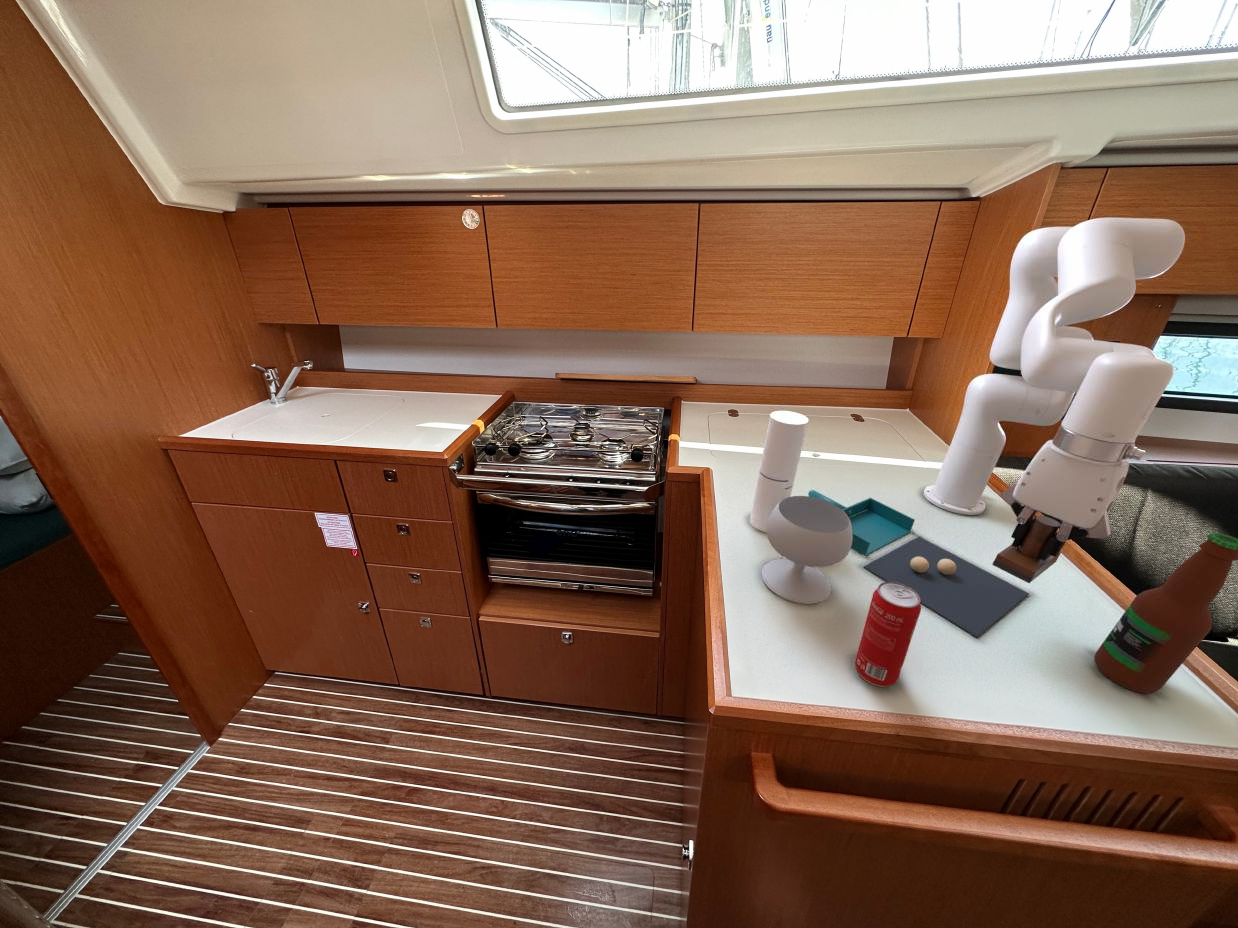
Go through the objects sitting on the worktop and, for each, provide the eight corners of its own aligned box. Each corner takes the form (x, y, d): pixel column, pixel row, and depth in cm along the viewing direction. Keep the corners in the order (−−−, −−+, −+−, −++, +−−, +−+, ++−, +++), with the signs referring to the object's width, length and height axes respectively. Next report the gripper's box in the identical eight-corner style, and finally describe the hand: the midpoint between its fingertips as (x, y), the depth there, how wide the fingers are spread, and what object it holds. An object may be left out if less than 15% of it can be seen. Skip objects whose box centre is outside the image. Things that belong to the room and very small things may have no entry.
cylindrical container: (745, 514, 106) (765, 410, 95) (775, 513, 107) (799, 410, 95) (756, 533, 100) (778, 424, 88) (788, 532, 100) (815, 424, 89)
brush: (1019, 545, 79) (1041, 504, 75) (1055, 562, 75) (1080, 519, 72) (991, 564, 74) (1013, 521, 70) (1029, 583, 70) (1054, 539, 67)
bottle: (1095, 646, 75) (1187, 516, 64) (1159, 677, 70) (1272, 542, 59) (1087, 671, 71) (1185, 536, 59) (1156, 705, 66) (1276, 565, 55)
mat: (918, 537, 101) (918, 536, 100) (1028, 594, 86) (1029, 593, 86) (863, 567, 91) (863, 566, 91) (976, 637, 76) (977, 636, 76)
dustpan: (910, 532, 102) (915, 519, 101) (864, 556, 94) (869, 542, 93) (829, 490, 117) (832, 478, 116) (784, 507, 109) (787, 495, 108)
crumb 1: (913, 563, 92) (918, 551, 91) (928, 572, 90) (934, 560, 88) (904, 568, 91) (909, 556, 89) (920, 577, 88) (925, 565, 87)
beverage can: (902, 692, 66) (938, 614, 60) (853, 683, 67) (883, 605, 61) (889, 659, 72) (921, 583, 65) (844, 651, 73) (871, 575, 66)
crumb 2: (939, 565, 92) (945, 553, 90) (956, 574, 89) (961, 562, 88) (931, 570, 90) (937, 558, 89) (948, 580, 88) (953, 567, 87)
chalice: (741, 565, 90) (754, 499, 83) (799, 551, 95) (816, 487, 88) (789, 617, 78) (809, 544, 72) (853, 598, 83) (877, 528, 76)
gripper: (1180, 462, 61) (1107, 572, 69) (1031, 419, 73) (984, 517, 81) (1164, 475, 57) (1088, 590, 66) (1009, 428, 69) (963, 530, 78)
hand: (1031, 549), depth 74 cm, fingers closed on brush, 3 cm apart
